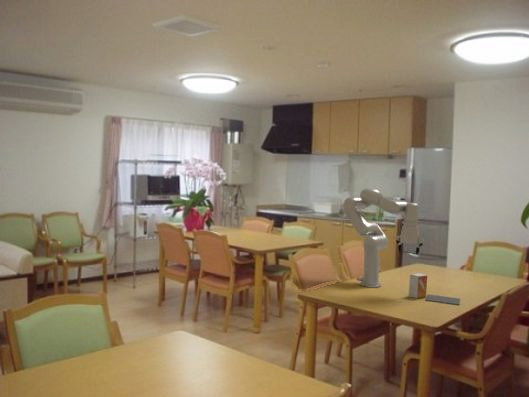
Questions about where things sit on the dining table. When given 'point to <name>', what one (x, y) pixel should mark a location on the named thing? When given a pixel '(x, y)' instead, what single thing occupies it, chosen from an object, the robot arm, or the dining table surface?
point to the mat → (442, 299)
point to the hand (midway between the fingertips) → (408, 252)
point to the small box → (417, 285)
